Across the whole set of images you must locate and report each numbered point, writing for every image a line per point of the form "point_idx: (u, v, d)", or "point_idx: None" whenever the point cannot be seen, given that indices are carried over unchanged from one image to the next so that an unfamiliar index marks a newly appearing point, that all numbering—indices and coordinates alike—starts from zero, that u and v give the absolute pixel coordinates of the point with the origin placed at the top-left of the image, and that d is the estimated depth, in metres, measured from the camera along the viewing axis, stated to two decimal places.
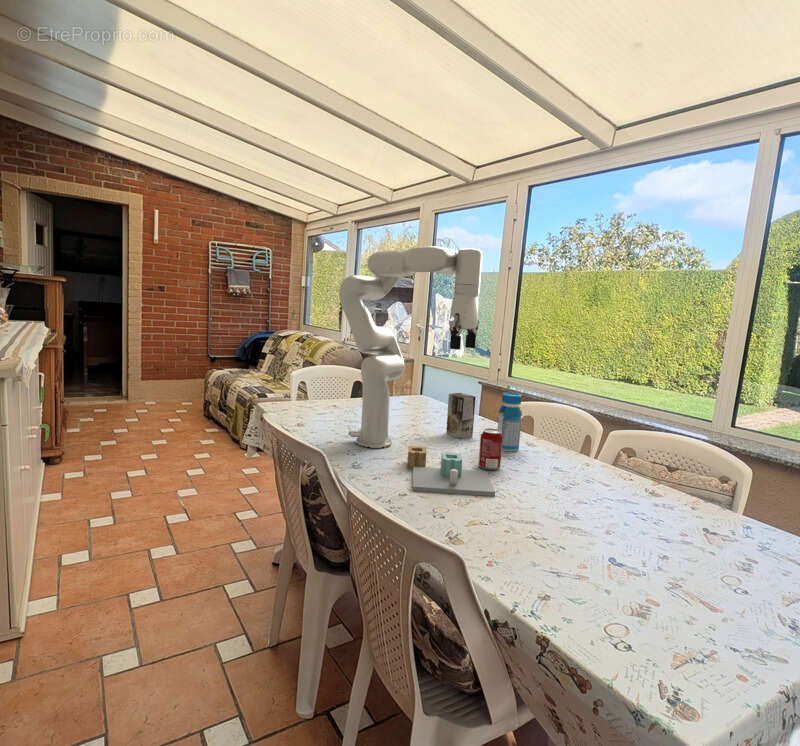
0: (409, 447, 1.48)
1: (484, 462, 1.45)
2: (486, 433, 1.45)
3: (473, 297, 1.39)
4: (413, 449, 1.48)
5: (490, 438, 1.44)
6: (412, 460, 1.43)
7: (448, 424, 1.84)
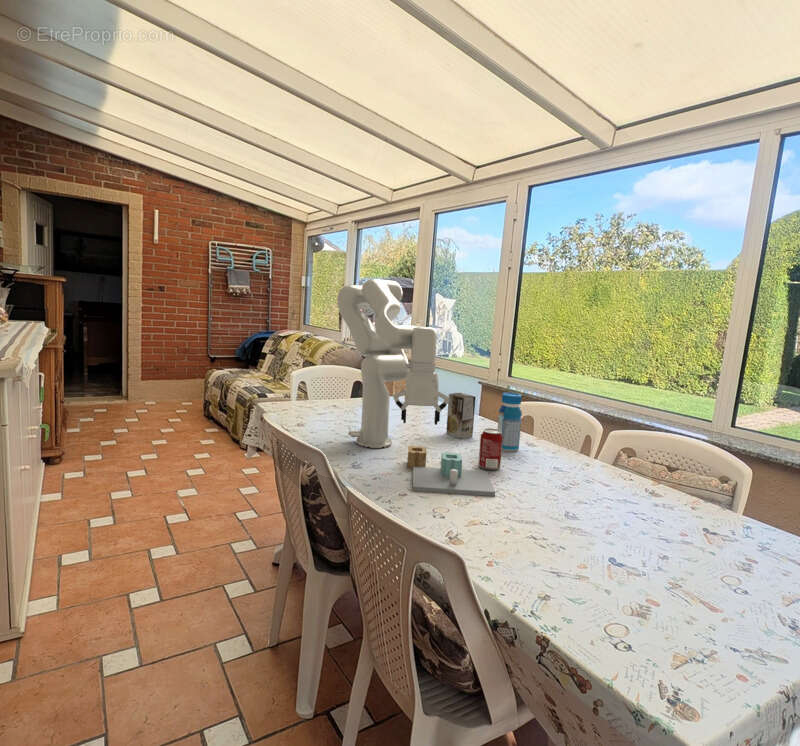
0: (409, 447, 1.48)
1: (484, 462, 1.45)
2: (486, 433, 1.45)
3: None
4: (413, 449, 1.48)
5: (490, 438, 1.44)
6: (412, 460, 1.43)
7: (448, 424, 1.84)
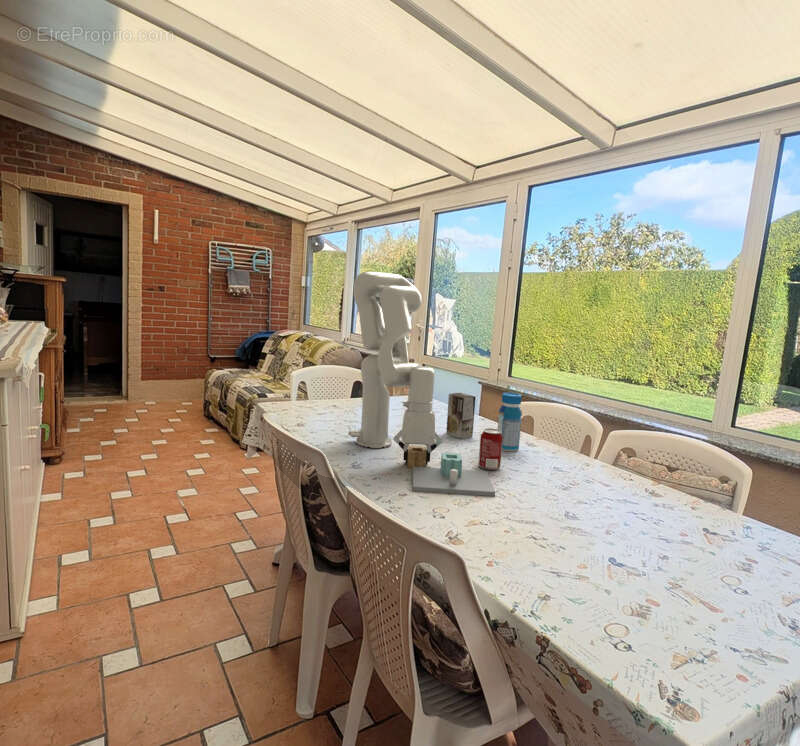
0: (409, 447, 1.48)
1: (484, 462, 1.45)
2: (486, 433, 1.45)
3: None
4: (413, 449, 1.48)
5: (490, 438, 1.44)
6: (412, 460, 1.43)
7: (448, 424, 1.84)
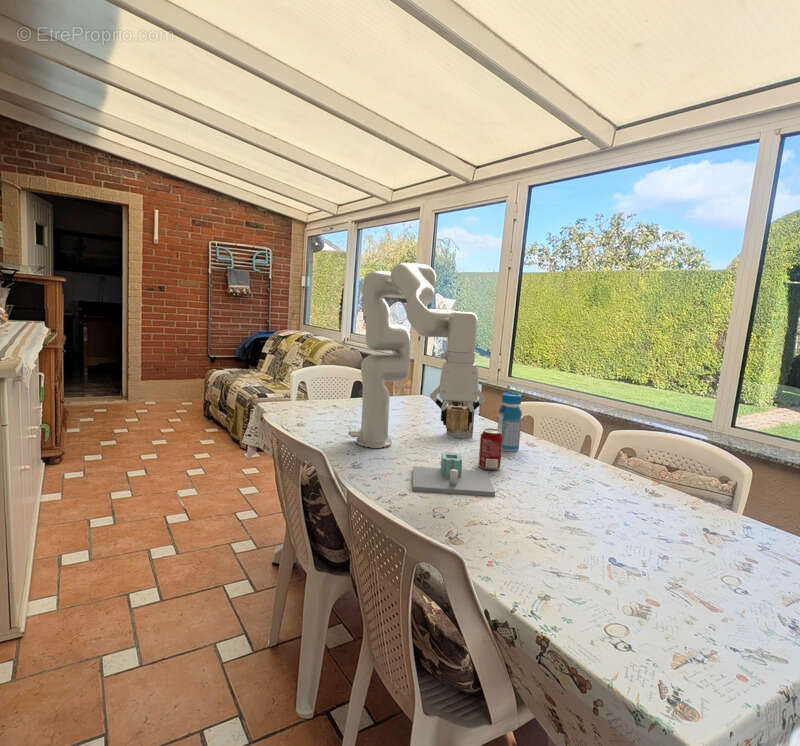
0: (447, 406, 1.28)
1: (484, 462, 1.45)
2: (486, 433, 1.45)
3: None
4: (452, 409, 1.28)
5: (490, 438, 1.44)
6: (452, 420, 1.24)
7: None
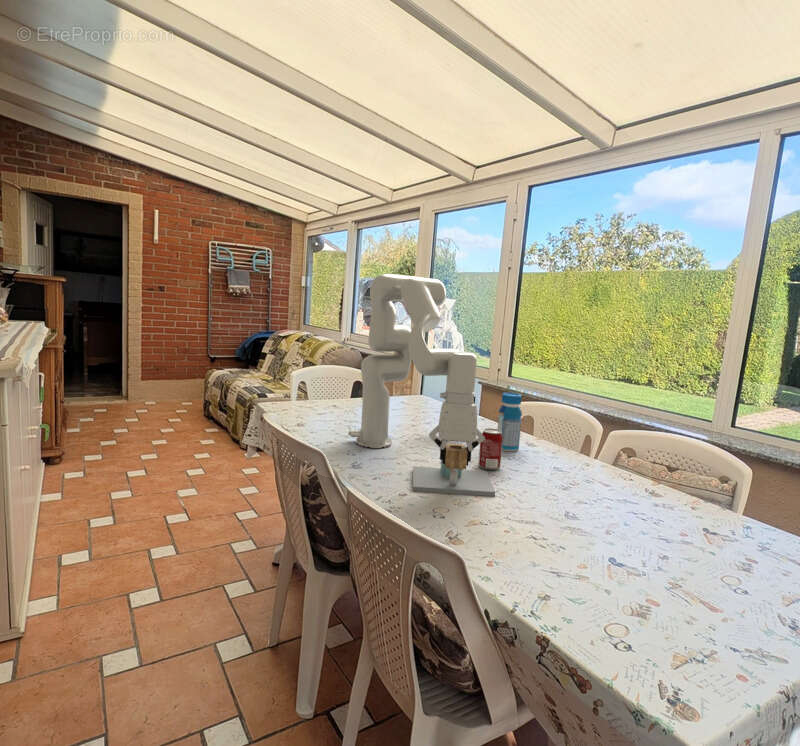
0: (446, 445, 1.29)
1: (484, 462, 1.45)
2: (486, 433, 1.45)
3: None
4: (451, 447, 1.29)
5: (490, 438, 1.44)
6: (451, 459, 1.24)
7: None
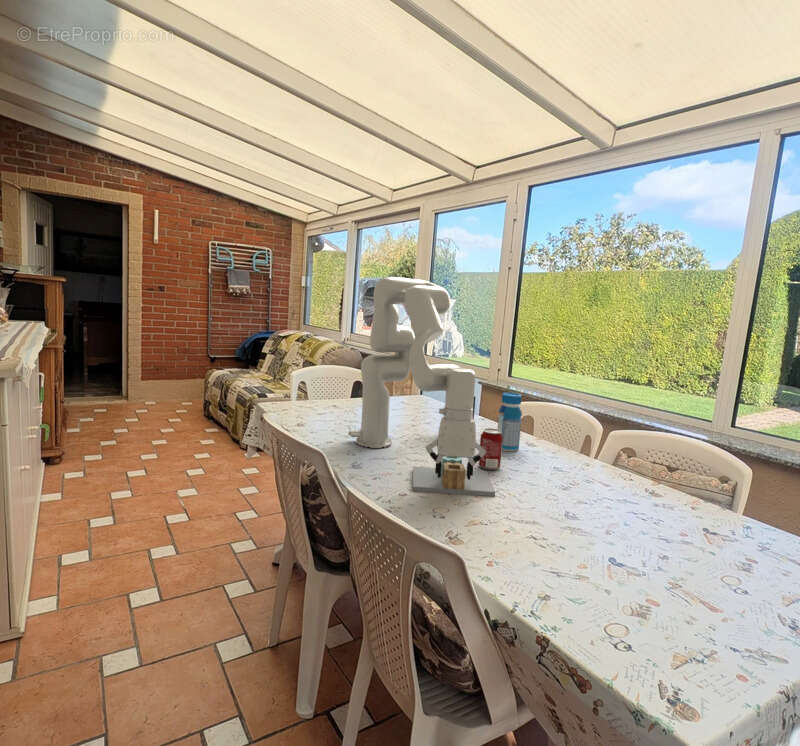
0: (444, 464, 1.30)
1: (484, 462, 1.45)
2: (486, 433, 1.45)
3: None
4: (449, 466, 1.30)
5: (490, 438, 1.44)
6: (449, 479, 1.25)
7: None
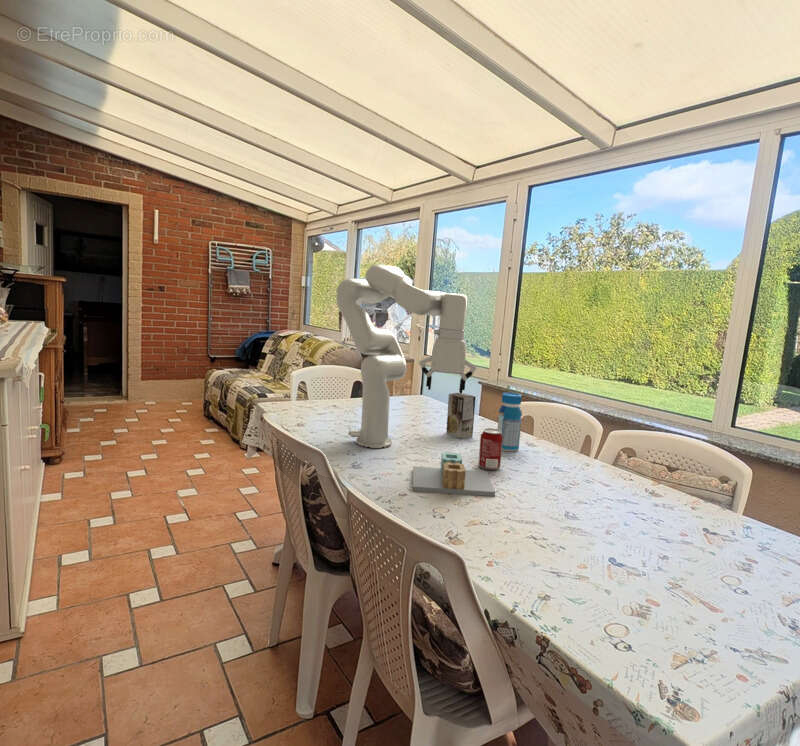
0: (444, 464, 1.30)
1: (484, 462, 1.45)
2: (486, 433, 1.45)
3: None
4: (449, 466, 1.30)
5: (490, 438, 1.44)
6: (449, 479, 1.25)
7: (448, 424, 1.84)
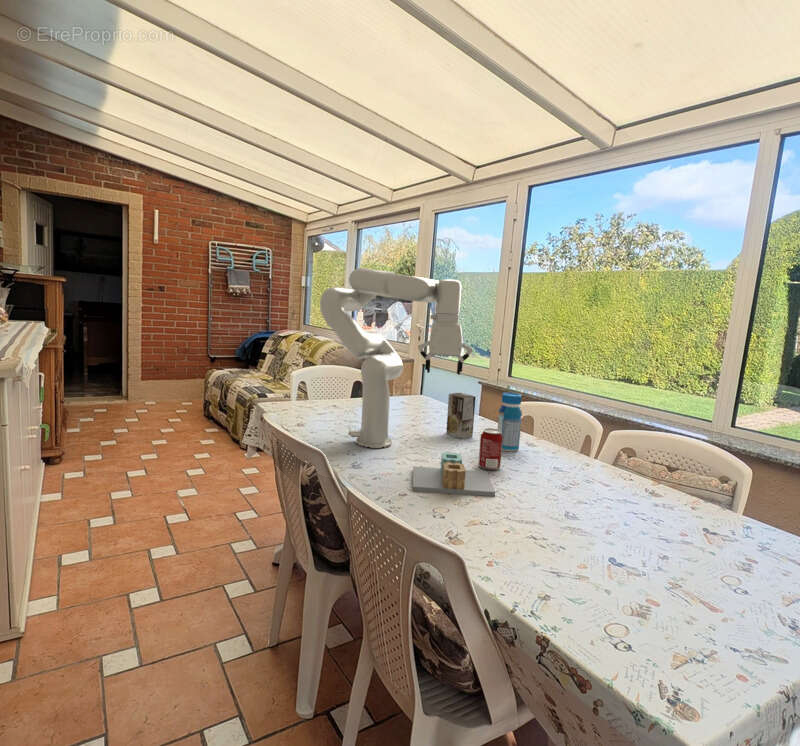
0: (444, 464, 1.30)
1: (484, 462, 1.45)
2: (486, 433, 1.45)
3: None
4: (449, 466, 1.30)
5: (490, 438, 1.44)
6: (449, 479, 1.25)
7: (448, 424, 1.84)
